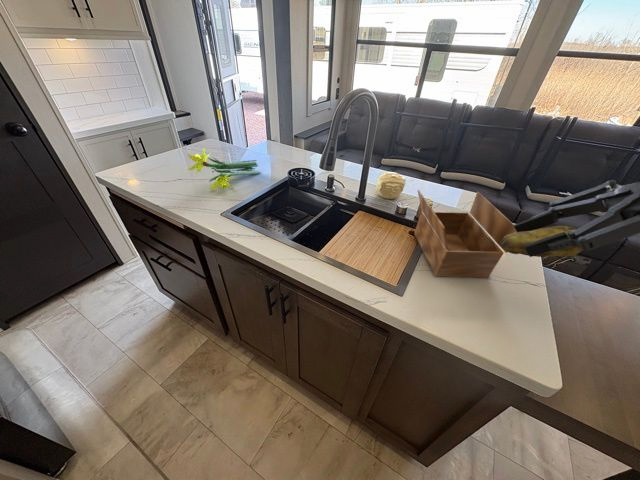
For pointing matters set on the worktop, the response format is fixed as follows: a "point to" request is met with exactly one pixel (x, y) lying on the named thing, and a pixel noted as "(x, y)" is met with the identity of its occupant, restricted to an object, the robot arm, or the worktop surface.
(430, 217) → the flap
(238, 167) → the daffodil flowers
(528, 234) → the potato
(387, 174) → the sculpture
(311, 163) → the worktop surface
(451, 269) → the wooden box
